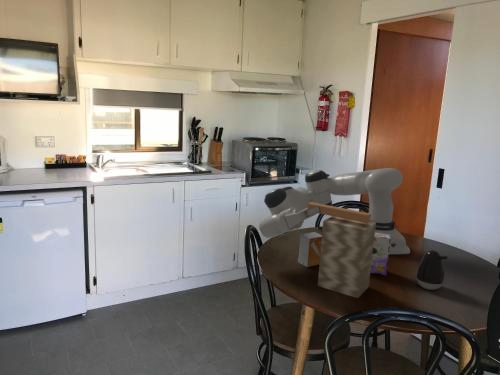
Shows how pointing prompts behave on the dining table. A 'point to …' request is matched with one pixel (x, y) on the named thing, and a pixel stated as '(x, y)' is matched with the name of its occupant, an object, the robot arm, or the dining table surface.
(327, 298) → the dining table surface
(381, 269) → the candy box
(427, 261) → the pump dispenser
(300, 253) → the small box
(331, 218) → the stand
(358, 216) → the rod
